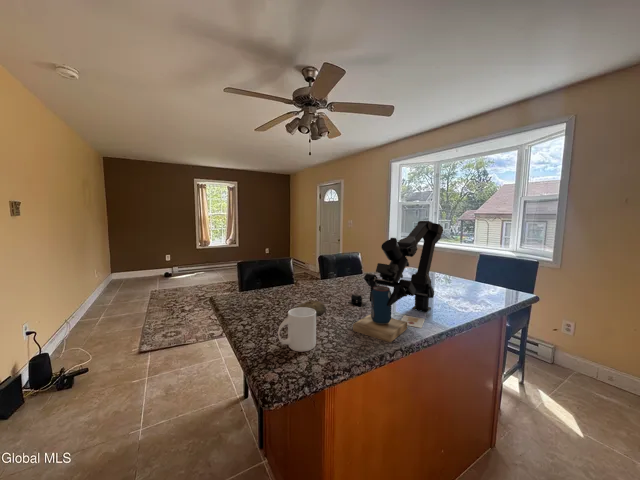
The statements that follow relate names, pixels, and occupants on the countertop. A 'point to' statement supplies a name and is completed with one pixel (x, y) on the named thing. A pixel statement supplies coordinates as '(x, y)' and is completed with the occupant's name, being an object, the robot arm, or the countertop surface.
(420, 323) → the page
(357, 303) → the black angular block
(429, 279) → the robot arm
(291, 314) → the mug
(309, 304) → the bread roll
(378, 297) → the soda can
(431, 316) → the countertop surface
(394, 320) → the oak slab
